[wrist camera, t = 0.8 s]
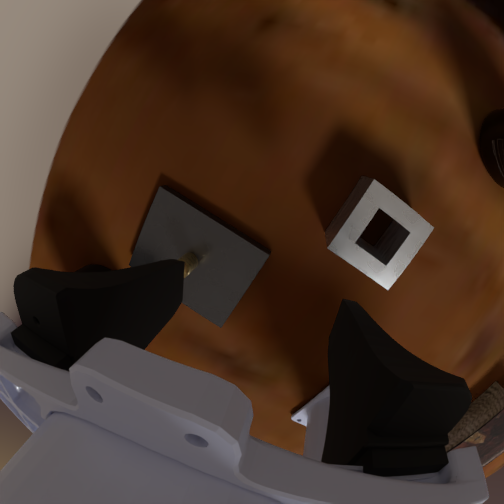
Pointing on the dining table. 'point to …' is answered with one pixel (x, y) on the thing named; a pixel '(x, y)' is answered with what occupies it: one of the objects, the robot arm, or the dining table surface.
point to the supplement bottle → (493, 145)
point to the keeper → (200, 253)
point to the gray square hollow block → (391, 242)
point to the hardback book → (482, 426)
